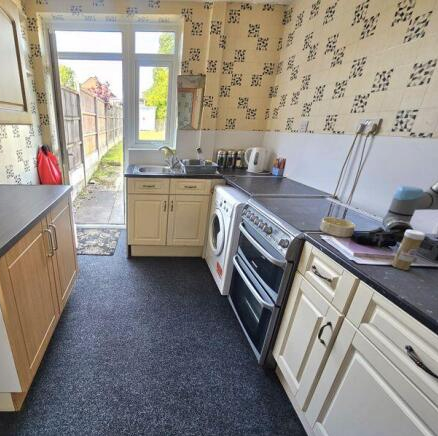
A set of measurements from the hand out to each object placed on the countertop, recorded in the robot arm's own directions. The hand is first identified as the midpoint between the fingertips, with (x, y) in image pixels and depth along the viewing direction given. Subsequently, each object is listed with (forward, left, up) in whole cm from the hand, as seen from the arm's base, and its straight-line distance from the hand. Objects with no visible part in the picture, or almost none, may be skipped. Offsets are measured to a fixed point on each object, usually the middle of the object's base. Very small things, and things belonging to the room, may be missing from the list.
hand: (408, 250), depth 82 cm
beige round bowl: (+15, -26, -7) cm, 31 cm away
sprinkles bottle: (0, -1, -7) cm, 8 cm away
